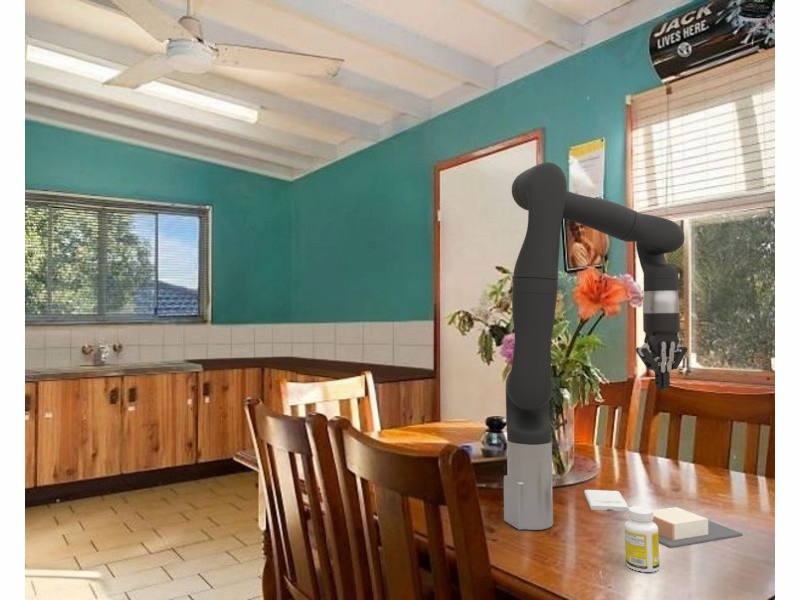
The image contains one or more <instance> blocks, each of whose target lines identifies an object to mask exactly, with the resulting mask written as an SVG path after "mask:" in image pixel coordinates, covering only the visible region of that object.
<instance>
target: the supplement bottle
mask: <svg viewBox="0 0 800 600" xmlns="http://www.w3.org/2000/svg"><path fill="white" fill-rule="evenodd" d="M628 518H629V519H628V520H626V521H625V523H624V541H625V543H624V545H625V546H624V547H625V548H624V549H625V563H626V566H627V568H628V569H630V568H631V570H632V569H633V570H632V571H635V570H636V571H635V572H638V571H641V572H640V573H644V572H651V573H656V572H658V571H659V570H660V548H659V546H660V545H659V544H660V543H659V538H658V527H657V525H656V524H655V523H654V522H652V520H653V518H654V516H653V509H652V508H649V507H647V506H646V507H645V506H630V507H629V511H628ZM655 571H656V572H655Z"/></svg>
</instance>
